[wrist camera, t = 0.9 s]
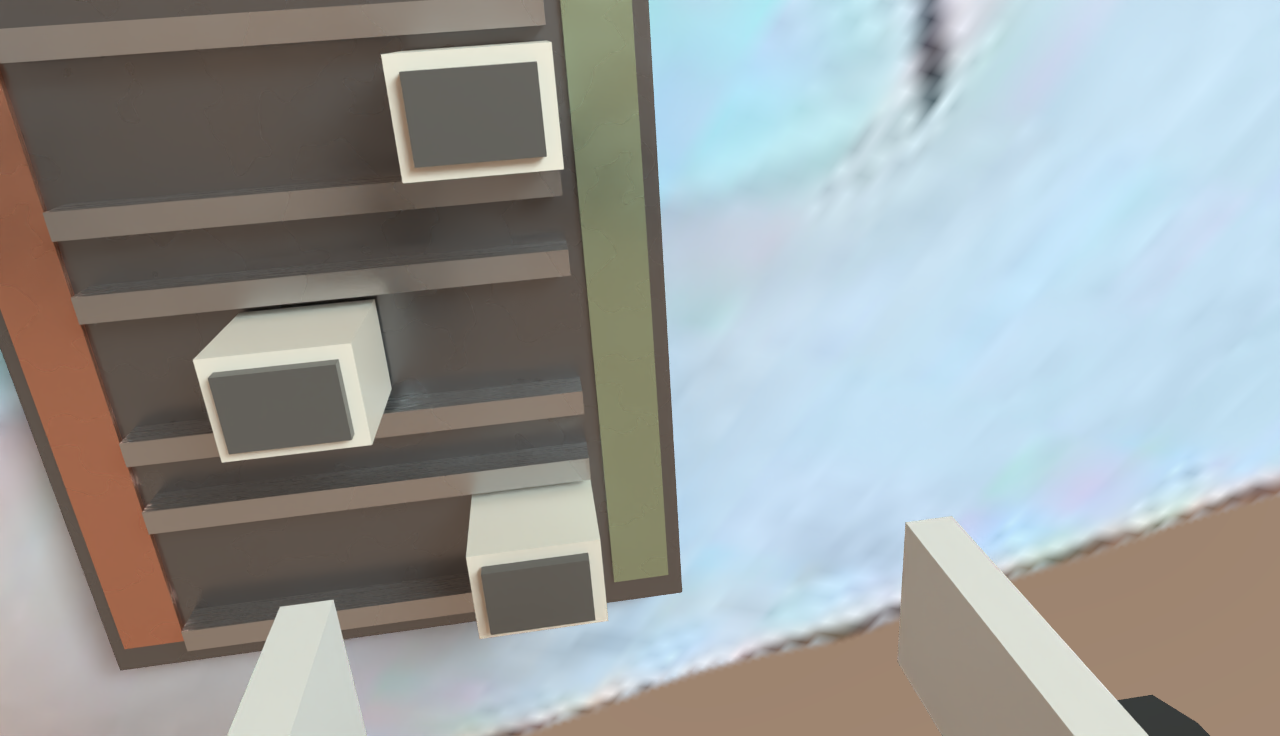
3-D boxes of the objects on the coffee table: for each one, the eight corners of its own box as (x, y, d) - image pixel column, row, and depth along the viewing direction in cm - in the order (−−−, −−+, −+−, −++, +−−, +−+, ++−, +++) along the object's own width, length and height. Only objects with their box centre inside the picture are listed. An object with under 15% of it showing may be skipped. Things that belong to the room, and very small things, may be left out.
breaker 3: (484, 564, 30) (479, 647, 26) (472, 490, 29) (465, 565, 25) (596, 549, 30) (609, 628, 26) (589, 475, 29) (601, 546, 25)
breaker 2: (419, 160, 25) (401, 186, 21) (402, 50, 24) (378, 55, 20) (557, 148, 25) (564, 171, 21) (546, 40, 24) (552, 42, 20)
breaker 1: (262, 403, 27) (216, 469, 23) (239, 312, 26) (186, 365, 22) (391, 388, 27) (369, 451, 23) (374, 299, 26) (348, 348, 22)
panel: (143, 633, 32) (105, 694, 29) (-84, -13, 23) (-171, -20, 20) (673, 561, 34) (688, 612, 31) (635, -58, 25) (650, -69, 22)
